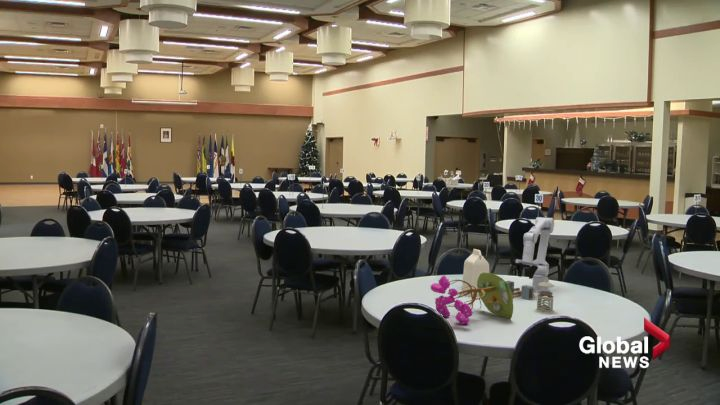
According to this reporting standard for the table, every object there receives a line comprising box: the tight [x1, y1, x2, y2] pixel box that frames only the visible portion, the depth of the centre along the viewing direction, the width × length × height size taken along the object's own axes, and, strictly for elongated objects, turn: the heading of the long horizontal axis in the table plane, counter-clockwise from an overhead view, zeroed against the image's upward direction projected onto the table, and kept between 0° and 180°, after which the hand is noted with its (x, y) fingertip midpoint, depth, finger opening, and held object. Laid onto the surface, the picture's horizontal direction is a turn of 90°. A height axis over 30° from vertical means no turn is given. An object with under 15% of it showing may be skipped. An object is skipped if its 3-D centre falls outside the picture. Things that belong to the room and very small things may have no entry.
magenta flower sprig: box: [430, 272, 514, 325], centre depth 314 cm, size 30×28×35 cm
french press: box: [532, 262, 556, 315], centre depth 333 cm, size 10×12×25 cm
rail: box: [504, 280, 521, 298], centre depth 372 cm, size 18×10×8 cm, turn 127°
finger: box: [520, 284, 534, 301], centre depth 361 cm, size 4×6×7 cm
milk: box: [461, 248, 490, 298], centre depth 369 cm, size 12×12×26 cm
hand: (525, 277), depth 362 cm, fingers open, 7 cm apart
